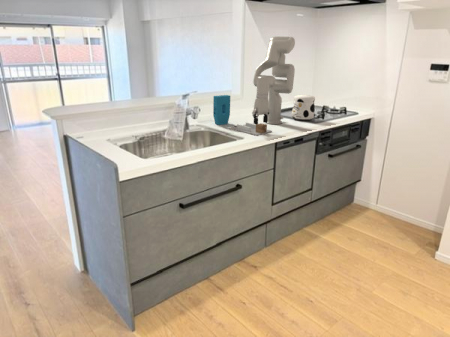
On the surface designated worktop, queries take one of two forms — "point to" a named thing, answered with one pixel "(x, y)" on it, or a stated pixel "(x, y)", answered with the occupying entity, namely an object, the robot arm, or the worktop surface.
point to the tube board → (248, 129)
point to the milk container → (303, 107)
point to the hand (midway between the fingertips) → (260, 123)
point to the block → (221, 109)
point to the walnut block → (261, 128)
